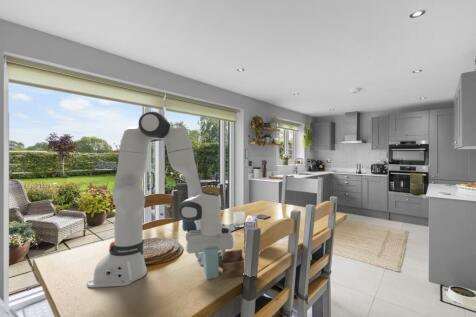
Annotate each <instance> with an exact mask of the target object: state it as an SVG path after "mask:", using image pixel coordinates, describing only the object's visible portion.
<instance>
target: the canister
mask: <svg viewBox="0 0 476 317" xmlns="http://www.w3.org/2000/svg"><path fill="white" fill-rule="evenodd" d="M181 220H182V219H181ZM181 225H182V226H181V227H182V230H183V229H184V230H183V231H185V230H187V231H186V232H189V231H190V230H197V228H196V224H195V222H194V221H189V222H187V221H184V220H182V224H181Z"/></svg>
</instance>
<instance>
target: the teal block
mask: <svg viewBox="0 0 476 317" xmlns="http://www.w3.org/2000/svg"><path fill="white" fill-rule="evenodd" d="M218 252H219V250H218V248H217V247H213V248H206V252H202V253H203V260H204V266H203V272H204V275H205V279H206V280H209V279H216V278H219V275H220V274H219V266H218Z"/></svg>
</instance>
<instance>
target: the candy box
mask: <svg viewBox="0 0 476 317" xmlns="http://www.w3.org/2000/svg"><path fill="white" fill-rule="evenodd" d="M250 227H259V226H258V215H247V217H246V218H245V220H244V221H243V253H246V252H245V241H246V231H247V229H248V228H250Z"/></svg>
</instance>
